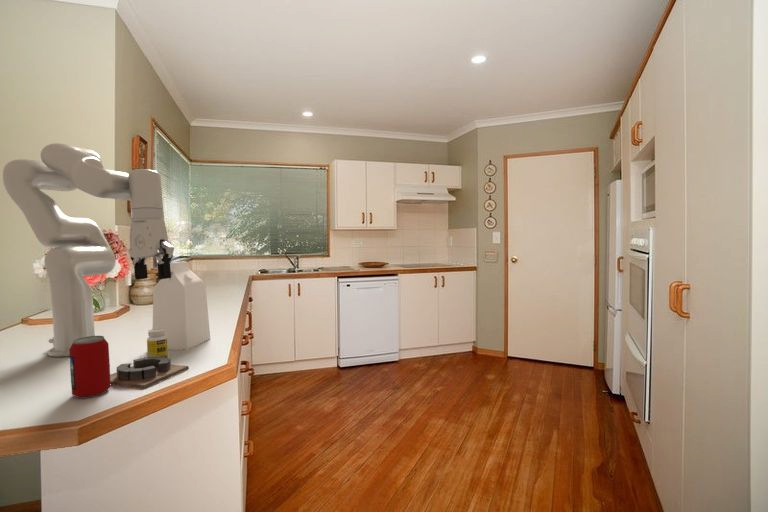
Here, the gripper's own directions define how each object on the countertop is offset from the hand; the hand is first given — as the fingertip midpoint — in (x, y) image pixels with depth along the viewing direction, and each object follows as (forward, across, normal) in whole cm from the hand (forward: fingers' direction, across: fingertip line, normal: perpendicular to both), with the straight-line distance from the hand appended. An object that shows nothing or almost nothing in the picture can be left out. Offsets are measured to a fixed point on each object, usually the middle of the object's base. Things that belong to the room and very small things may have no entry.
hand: (153, 278), depth 105 cm
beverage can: (+23, +8, -21) cm, 32 cm away
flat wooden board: (+23, +8, -10) cm, 26 cm away
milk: (+22, -9, +14) cm, 28 cm away
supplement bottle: (+23, 0, 0) cm, 23 cm away
